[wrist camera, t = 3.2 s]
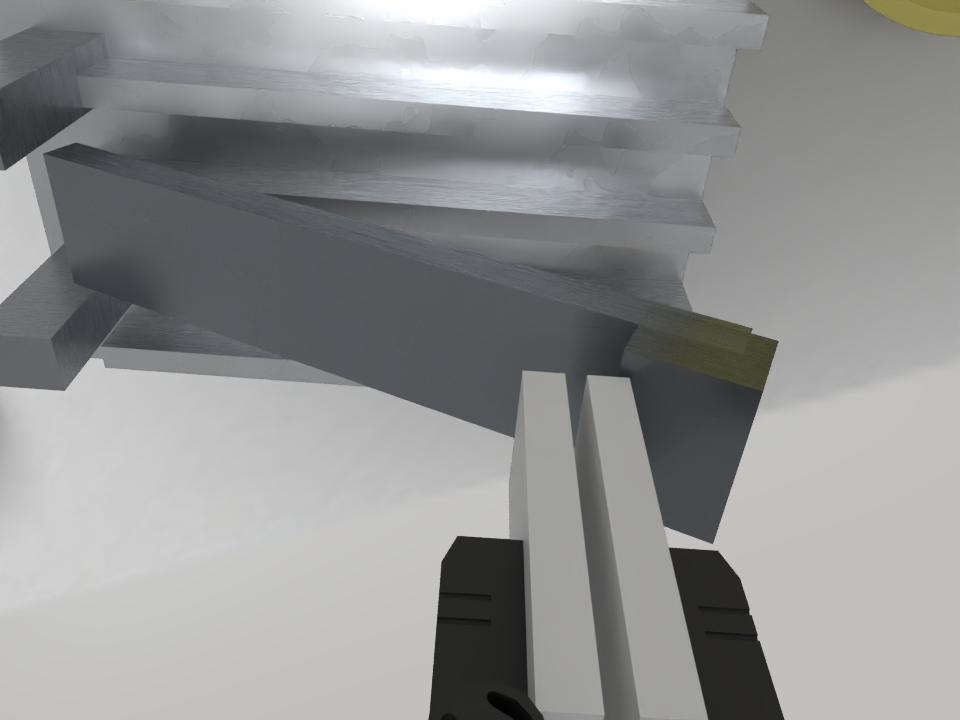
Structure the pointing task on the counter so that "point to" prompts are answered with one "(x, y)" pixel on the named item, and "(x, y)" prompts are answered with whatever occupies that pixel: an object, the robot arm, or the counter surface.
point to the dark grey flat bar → (413, 314)
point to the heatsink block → (374, 139)
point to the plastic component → (922, 14)
